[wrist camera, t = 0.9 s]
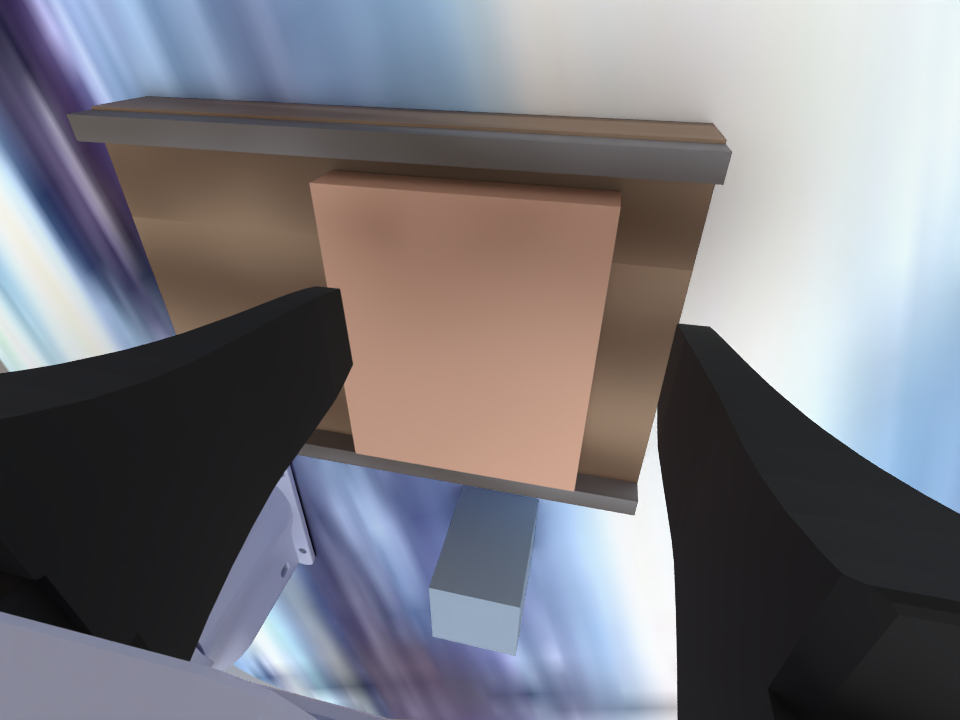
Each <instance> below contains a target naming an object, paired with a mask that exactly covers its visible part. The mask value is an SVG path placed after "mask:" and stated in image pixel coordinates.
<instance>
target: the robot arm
mask: <svg viewBox="0 0 960 720" xmlns="http://www.w3.org/2000/svg"><path fill="white" fill-rule="evenodd" d="M352 366H353V360H352V355H351V349H350V343H349V337H348V331H347V325H346V320H345V314H344V308H343V302H342V296H341V290H340V289H338V288H329V287H319V286H314V287H309V288H305V289H302V290H299V291H296V292H293V293H290V294H287V295H284V296H281V297H279V298H276V299H273V300H271V301H268V302H266V303H263V304H260V305H258V306H255V307H253V308H250V309H248V310H245V311H242V312H240V313H237V314H235V315H232V316H229V317H227V318H224V319H221V320H218V321H215V322H213V323H210V324H207V325H204V326H201V327H199V328H196V329H193V330H190V331H187V332H184V333H181V334H178V335H175V336H172V337H169V338H166V339H162V340H159V341H156V342H152V343H148V344H145V345H141V346H137V347H134V348H130V349H126V350H122V351H118V352H114V353H109V354H104V355H100V356H95V357H90V358H86V359H81V360H76V361H72V362H67V363H62V364H57V365H52V366H46V367H39V368H33V369H27V370H21V371H14V372H7V373H1V374H0V720H392V719H388V718H384V717H380V716H377V715H373V714H369V713H365V712H362V711H358V710H354V709H350V708H347V707H343V706H339V705H335V704H331V703H328V702H324V701H320V700H316V699H313V698H309V697H305V696H301V695H298V694H294V693H290V692H286V691H283V690H278V689H275V688H271V687H267V686H263V685H260V684H256V683H252V682H249V681H246V680H243V679H241V678H238V677H235V676H233V675H230V674H228V673H225V672H223V671H224V670H226V669H227V668H228V667H230V666H231V665H232V664H234V663H235V662H236V661H237V660H238V659H239V658H240V657H241V656H242V655H243V654H244V653H245V652H246V650H247V649H248V648H249V646H250V645H251V643H252V642H253V640H254V638H255V637H256V635H257V633H258V632H259V630H260V628H261V626H262V625H263V623H264V621H265V620H266V618H267V616H268V614H269V613H270V611H271V609H272V608H273V606H274V604H275V602H276V601H277V599H278V597H279V596H280V594H281V592H282V590H283V589H284V587H285V585H286V584H287V582H288V580H289V579H290V577H291V575H292V573H293V572H294V570H295V568H296V567H297V565H298V563H301V564H306V565H311V564H312V563H313V562H314V560H315V555H314V551H313V548H312V544H311V541H310V537H309V533H308V530H307V526H306V522H305V519H304V515H303V511H302V508H301V504H300V501H299V497H298V493H297V490H296V486H295V482H294V479H293V475H292V471H291V468H290V464H291V463H292V461H293V460H294V458H295V457H296V456H297V454H298V453H299V451H300V450H301V449H302V447H303V446H304V444H305V443H306V442H307V440H308V439H309V437H310V436H311V435H312V433H313V432H314V430H315V429H316V428H317V426H318V425H319V423H320V422H321V420H322V419H323V418H324V416H325V415H326V413H327V412H328V410H329V409H330V408H331V406H332V405H333V403H334V402H335V400H336V398H337V397H338V395H339V393H340V391H341V389H342V387H343V385H344V383H345V381H346V379H347V377H348V375H349V372H350V370H351V368H352ZM657 434H658V452H659V459H660V466H661V473H662V480H663V486H664V493H665V500H666V506H667V513H668V519H669V526H670V533H671V539H672V548H673V558H674V575H675V601H676V636H677V705H678V720H960V514H959V513H957V512H955V511H953V510H951V509H950V508H948V507H946V506H944V505H942V504H941V503H939V502H937V501H935V500H933V499H931V498H930V497H928V496H926V495H924V494H923V493H921V492H919V491H917V490H916V489H914V488H912V487H911V486H909V485H907V484H906V483H904V482H902V481H901V480H899V479H897V478H896V477H894V476H892V475H891V474H889V473H887V472H886V471H884V470H882V469H881V468H879V467H878V466H876V465H875V464H873V463H871V462H870V461H868V460H867V459H865V458H864V457H862V456H861V455H859V454H858V453H856V452H855V451H853V450H852V449H850V448H849V447H848V446H846V445H845V444H843V443H842V442H841V441H839V440H838V439H836V438H835V437H833V436H832V435H831V434H829V433H828V432H826V431H825V430H824V429H822V428H821V427H820V426H818V425H817V424H816V423H814V422H813V421H812V420H811V419H809V418H808V417H807V416H806V415H804V414H803V413H802V412H801V411H800V410H798V409H797V408H796V407H795V406H794V405H792V404H791V403H790V402H789V401H788V400H786V399H785V398H784V397H783V396H782V395H781V394H779V393H778V392H777V391H776V390H775V389H774V388H773V387H772V386H770V385H769V384H768V383H767V382H766V381H765V380H764V379H763V378H762V377H761V376H760V375H759V374H758V373H757V372H756V371H755V370H753V369H752V368H751V367H750V366H749V365H748V364H747V363H746V362H745V361H744V360H743V359H742V358H741V357H740V356H739V355H738V354H737V353H736V352H735V351H734V350H733V349H732V348H731V347H730V346H729V345H728V344H727V343H726V342H725V341H724V340H723V339H722V338H721V337H720V336H719V335H718V334H717V333H716V332H715V331H714V330H713V329H712V328H711V327H707V326H697V325H687V324H678V323H677V326H676V330H675V334H674V338H673V342H672V346H671V351H670V355H669V359H668V363H667V367H666V371H665V375H664V380H663V384H662V388H661V392H660V396H659V400H658V405H657Z"/></svg>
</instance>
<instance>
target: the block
mask: <svg viewBox="0 0 960 720" xmlns="http://www.w3.org/2000/svg"><path fill="white" fill-rule="evenodd" d="M538 500H539V499H535V498H529V497H524V496H518V495H513V494H507V493H502V492H496V491H490V490H485V489H479V488H474V487H468V486H463V488H462V491H461V494H460V497H459V500H458V503H457V506H456V509H455V512H454V515H453V518H452V521H451V524H450V527H449V530H448V533H447V535H446V538H445V541H444V544H443V547H442V550H441V553H440V556H439V559H438V562H437V565H436V568H435V571H434V574H433V577H432V580H431V583H430V586H429V594H430V607H431V620H432V632H433V637H438V638H442V639H446V640H450V641H454V642H459V643H463V644H467V645H471V646H475V647H480V648H484V649H488V650H492V651H496V652H501V653H505V654H509V655H513V656H516V650H517V644H518V638H519V632H520V626H521V620H522V614H523V607H524V601H525V595H526V589H527V583H528V577H529V571H530V565H531V559H532V553H533V546H534V537H535V528H536V519H537V510H538Z"/></svg>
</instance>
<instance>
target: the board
mask: <svg viewBox="0 0 960 720" xmlns="http://www.w3.org/2000/svg"><path fill="white" fill-rule="evenodd" d="M91 107H92V110H87V111H82V112H76V113H71V114H67V117H68V119H69V122H70V124H71V127H72V129H73V132H74V134H75V136H76V139H77V141H85V142H100V143H105V144H106V147H107V150H108V152H109V155H110V158H111V160H112V163H113V166H114V168H115V171H116V174H117V176H118V179H119V182H120V185H121V187H122V190H123V193H124V195H125V198H126V201H127V203H128V206H129V209H130V211H131V214H132V217H133V219H134V222H135V225H136V227H137V230H138V233H139V235H140V238H141V241H142V244H143V246H144V249H145V252H146V254H147V257H148V260H149V262H150V265H151V268H152V270H153V273H154V276H155V278H156V281H157V284H158V286H159V289H160V292H161V294H162V297H163V300H164V303H165V305H166V308H167V311H168V313H169V316H170V319H171V321H172V324H173V327H174V329H175V332H176V335H178V334H181V333H184V332H187V331H190V330H193V329H196V328H199V327H201V326H204V325H207V324H210V323H213V322H215V321H218V320H221V319H224V318H227V317H229V316H232V315H235V314H237V313H240V312H242V311H245V310H248V309H250V308H253V307H255V306H258V305H260V304H263V303H266V302H268V301H271V300H273V299H276V298H279V297H281V296H284V295H287V294H290V293H293V292H296V291H299V290H302V289H305V288H309V287H314V286H319V287H327V283H326V277H325V271H324V265H323V260H322V254H321V248H320V242H319V236H318V231H317V225H316V219H315V213H314V207H313V201H312V196H311V190H310V184H309V183H310V182H312V181H314V180H316V179H317V178H319V177H321V176H323V175H325V174H327V173H328V172H330V171H332V170H334V171H348V172H361V173H375V174H389V175H403V176H417V177H431V178H445V179H459V180H472V181H486V182H500V183H514V184H528V185H542V186H556V187H570V188H583V189H597V190H611V191H621V209H620V215H619V221H618V227H617V233H616V239H615V245H614V252H613V258H612V264H611V270H610V276H609V282H608V288H607V294H606V300H605V307H604V313H603V319H602V325H601V331H600V337H599V343H598V349H597V355H596V361H595V368H594V374H593V380H592V386H591V392H590V398H589V404H588V410H587V416H586V422H585V429H584V435H583V441H582V447H581V453H580V459H579V465H578V471H577V477H576V484H575V490H574V492H573V491H568V490H562V489H556V488H551V487H545V486H539V485H534V484H528V483H522V482H516V481H511V480H505V479H499V478H494V477H488V476H482V475H477V474H471V473H465V472H459V471H454V470H448V469H442V468H437V467H431V466H425V465H419V464H414V463H408V462H402V461H397V460H391V459H385V458H380V457H374V456H368V455H362V454H357V453H356V452H355V446H354V440H353V435H352V429H351V423H350V417H349V411H348V405H347V400H346V394H345V388H344V385H343V387H342V389H341V391H340V393H339V395H338V397H337V398H336V400H335V402H334V403H333V405H332V406H331V408H330V409H329V410H328V412H327V413H326V415H325V416H324V418H323V419H322V420H321V422H320V423H319V425H318V426H317V428H316V429H315V430H314V432H313V433H312V435H311V436H310V437H309V439H308V440H307V442H306V443H305V444H304V446H303V447H302V449H301V450H300V451H299V453H298V454H297V455H301V456H307V457H312V458H318V459H323V460H329V461H335V462H340V463H346V464H351V465H357V466H362V467H368V468H373V469H379V470H385V471H390V472H396V473H401V474H407V475H412V476H418V477H424V478H429V479H435V480H440V481H446V482H451V483H457V484H462V485H468V486H474V487H479V488H485V489H490V490H496V491H501V492H507V493H513V494H518V495H524V496H529V497H535V498H540V499H546V500H552V501H557V502H563V503H568V504H574V505H579V506H585V507H590V508H596V509H602V510H607V511H613V512H618V513H624V514H629V515H634V514H635V511H636V507H637V503H638V491H637V482H638V478H639V474H640V470H641V467H642V463H643V459H644V455H645V451H646V447H647V444H648V440H649V436H650V432H651V428H652V424H653V420H654V417H655V413H656V409H657V405H658V400H659V396H660V392H661V388H662V384H663V380H664V375H665V371H666V367H667V363H668V359H669V355H670V351H671V346H672V342H673V338H674V334H675V330H676V326H677V323H678V324H679V321H680V317H681V313H682V309H683V305H684V301H685V297H686V294H687V290H688V286H689V282H690V278H691V274H692V271H693V267H694V263H695V259H696V255H697V251H698V247H699V244H700V240H701V236H702V232H703V228H704V224H705V221H706V217H707V213H708V209H709V205H710V201H711V197H712V194H713V190H714V186H715V184H721V185H723V184H724V180H725V176H726V173H727V169H728V165H729V161H730V158H731V154H732V151H731V150H730V149H729V148H728V146H727V145H726V139H725V138H724V136H723V135H722V134H721V133H720V131H719V130H718V129H717V128H716V127H715V125H714V124H713V123H692V122H672V121H651V120H630V119H609V118H588V117H567V116H546V115H526V114H505V113H484V112H463V111H442V110H421V109H400V108H380V107H359V106H338V105H317V104H296V103H275V102H255V101H234V100H213V99H192V98H171V97H150V96H146V97H140V98H135V99H129V100H123V101H118V102H112V103H106V104H101V105H95V106H91Z"/></svg>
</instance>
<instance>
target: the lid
mask: <svg viewBox="0 0 960 720" xmlns="http://www.w3.org/2000/svg"><path fill="white" fill-rule="evenodd" d="M309 184H310V190H311V196H312V201H313V207H314V213H315V219H316V225H317V231H318V236H319V242H320V248H321V254H322V260H323V265H324V271H325V277H326V283H327V287H329V288H338V289H340V290H341V296H342V302H343V308H344V314H345V320H346V325H347V331H348V337H349V343H350V349H351V355H352V360H353V366H352V368H351V370H350V372H349V375H348V377H347V379H346V381H345V383H344V388H345V394H346V400H347V405H348V411H349V417H350V423H351V429H352V435H353V440H354V446H355V452H356V453H357V454H362V455H368V456H374V457H380V458H385V459H391V460H397V461H402V462H408V463H414V464H419V465H425V466H431V467H437V468H442V469H448V470H454V471H459V472H465V473H471V474H477V475H482V476H488V477H494V478H499V479H505V480H511V481H516V482H522V483H528V484H534V485H539V486H545V487H551V488H556V489H562V490H568V491H573V492H574V490H575V484H576V477H577V471H578V465H579V459H580V453H581V447H582V441H583V435H584V429H585V422H586V416H587V410H588V404H589V398H590V392H591V386H592V380H593V374H594V368H595V361H596V355H597V349H598V343H599V337H600V331H601V325H602V319H603V313H604V307H605V300H606V294H607V288H608V282H609V276H610V270H611V264H612V258H613V252H614V245H615V239H616V233H617V227H618V221H619V215H620V209H621V191H611V190H597V189H583V188H570V187H556V186H542V185H528V184H514V183H500V182H486V181H472V180H459V179H445V178H431V177H417V176H403V175H389V174H375V173H361V172H348V171H334V170H332V171H330V172H328V173H327V174H325V175H323V176H321V177H319V178H317V179H316V180H314V181H312V182H310V183H309Z"/></svg>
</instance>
